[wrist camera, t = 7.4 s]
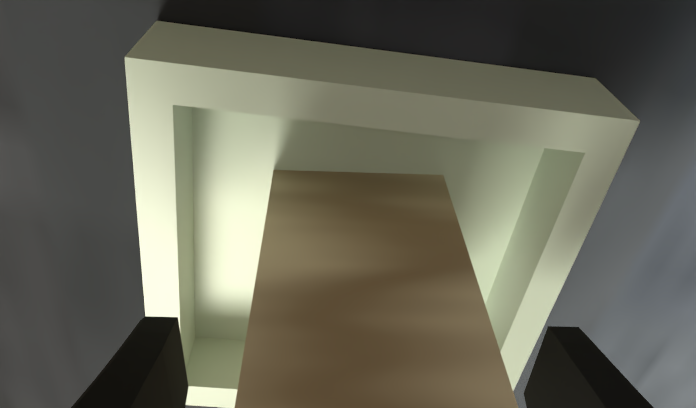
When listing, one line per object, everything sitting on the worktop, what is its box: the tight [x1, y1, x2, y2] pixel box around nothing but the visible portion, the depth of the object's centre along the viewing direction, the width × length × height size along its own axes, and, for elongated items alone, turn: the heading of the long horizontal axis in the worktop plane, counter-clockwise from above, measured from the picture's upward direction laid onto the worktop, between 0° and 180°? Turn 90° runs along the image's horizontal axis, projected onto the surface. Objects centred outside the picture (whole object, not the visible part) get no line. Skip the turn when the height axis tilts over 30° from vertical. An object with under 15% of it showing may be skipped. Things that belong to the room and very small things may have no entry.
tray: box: [125, 21, 640, 408], centre depth 14 cm, size 10×10×2 cm
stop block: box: [235, 170, 518, 408], centre depth 11 cm, size 4×4×7 cm
